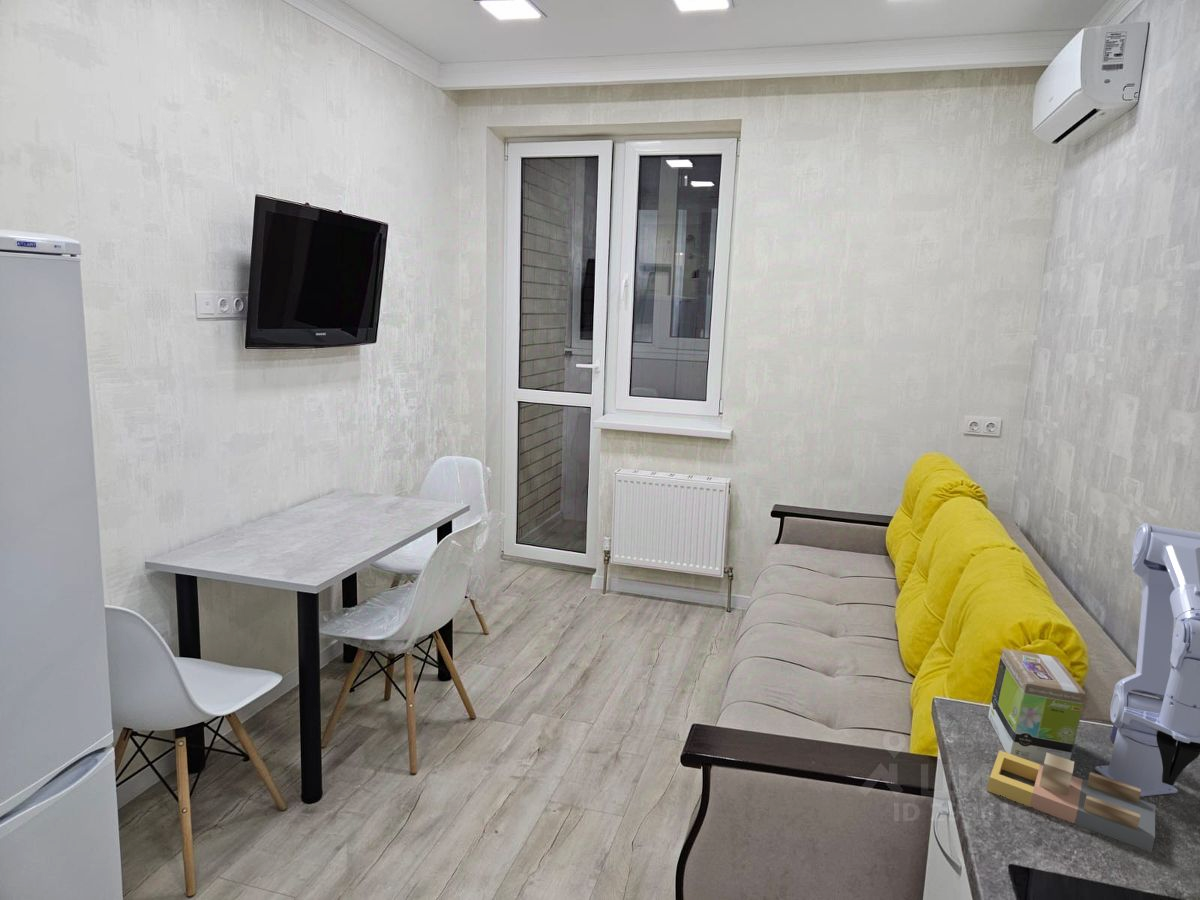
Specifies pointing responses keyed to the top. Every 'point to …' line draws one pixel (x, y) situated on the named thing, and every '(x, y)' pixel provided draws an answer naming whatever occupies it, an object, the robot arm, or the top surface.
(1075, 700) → the tea box
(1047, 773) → the birch block
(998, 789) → the board
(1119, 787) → the channel walls
